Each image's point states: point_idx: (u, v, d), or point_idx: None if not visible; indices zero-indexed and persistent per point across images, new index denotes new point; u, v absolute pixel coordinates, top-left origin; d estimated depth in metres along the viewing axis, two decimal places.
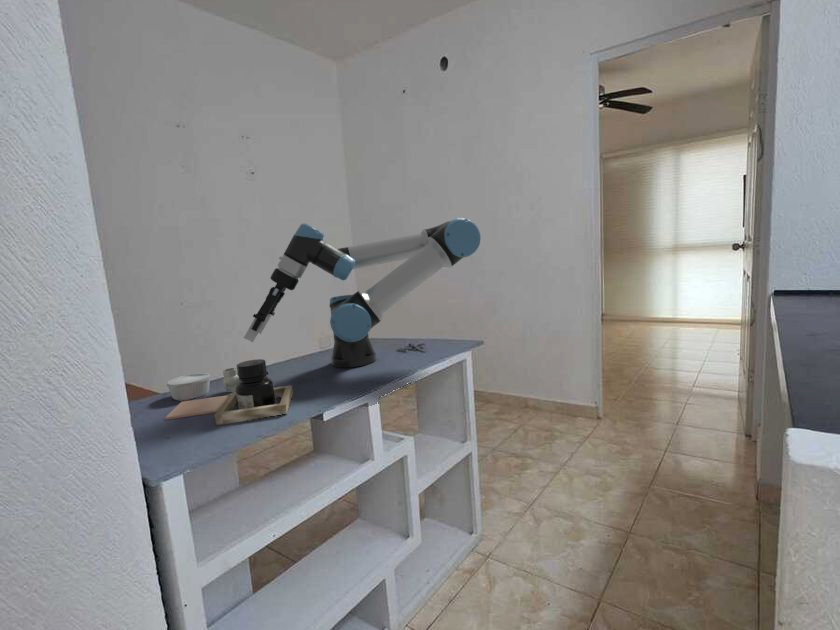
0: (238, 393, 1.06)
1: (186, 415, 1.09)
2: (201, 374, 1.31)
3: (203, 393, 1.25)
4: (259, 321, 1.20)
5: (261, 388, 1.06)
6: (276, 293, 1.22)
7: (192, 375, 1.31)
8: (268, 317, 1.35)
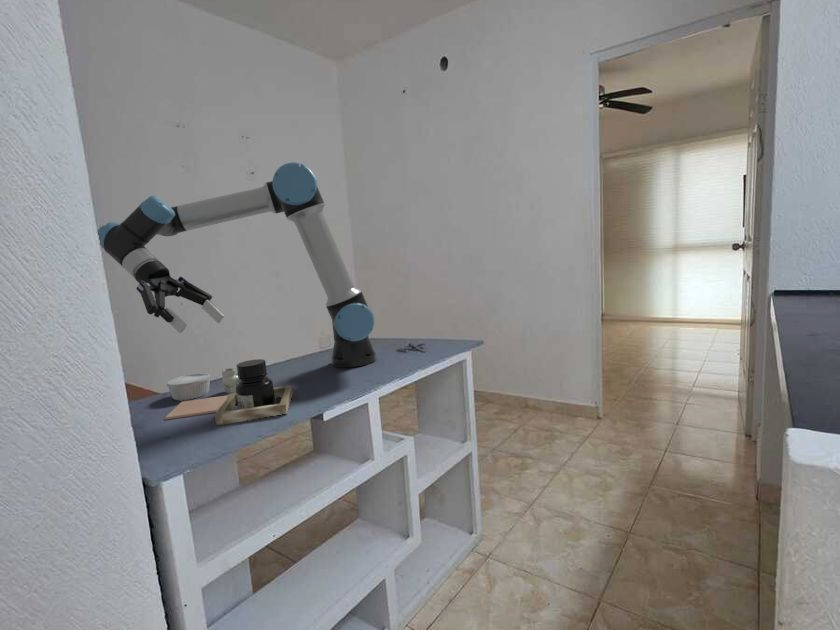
0: (238, 393, 1.06)
1: (186, 415, 1.09)
2: (201, 374, 1.31)
3: (203, 393, 1.25)
4: (160, 311, 1.05)
5: (261, 388, 1.06)
6: (141, 286, 1.07)
7: (192, 375, 1.31)
8: (207, 303, 1.19)
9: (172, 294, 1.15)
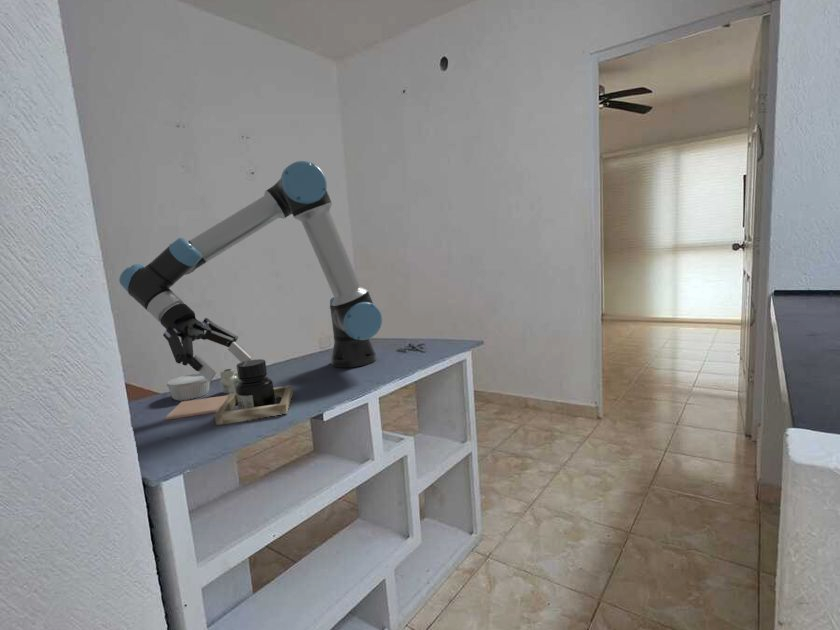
0: (238, 393, 1.06)
1: (186, 415, 1.09)
2: None
3: (203, 393, 1.25)
4: (189, 360, 1.02)
5: (261, 388, 1.06)
6: (168, 333, 1.04)
7: (192, 375, 1.31)
8: (234, 345, 1.16)
9: (198, 338, 1.11)
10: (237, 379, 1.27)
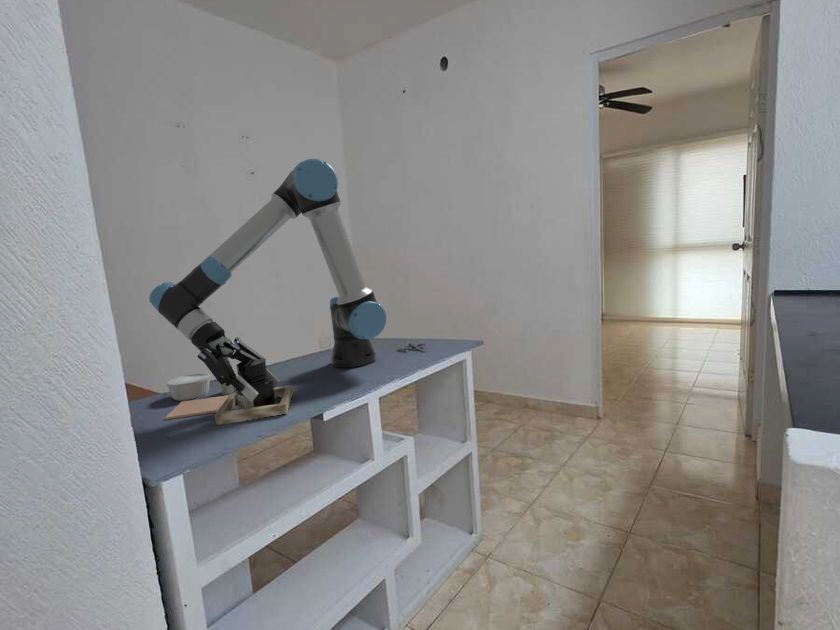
0: (238, 393, 1.06)
1: (186, 415, 1.09)
2: (201, 374, 1.31)
3: (203, 393, 1.25)
4: (232, 381, 1.03)
5: (261, 388, 1.06)
6: (203, 354, 1.03)
7: (192, 375, 1.31)
8: None
9: (229, 356, 1.10)
10: None
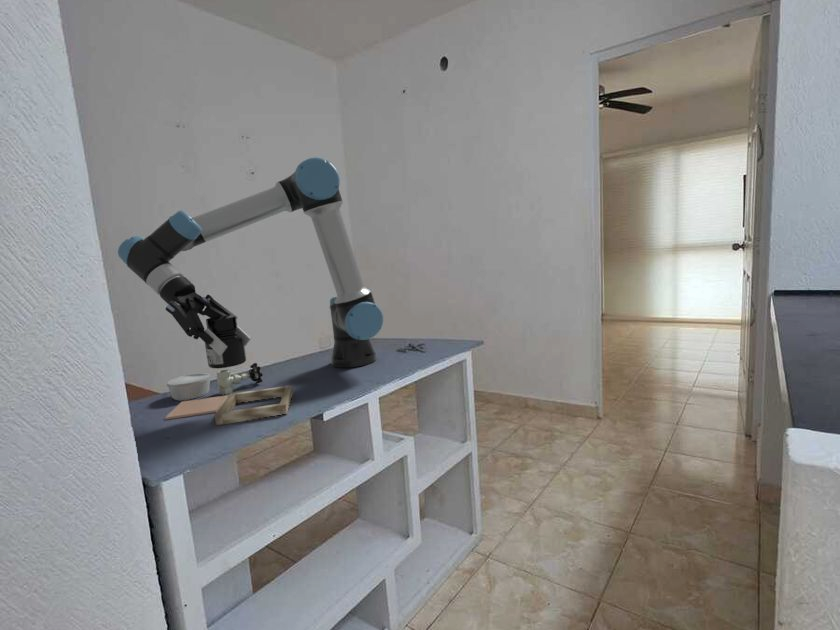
0: (207, 347, 1.05)
1: (186, 415, 1.09)
2: (201, 374, 1.31)
3: (203, 393, 1.25)
4: (200, 333, 1.02)
5: (230, 343, 1.05)
6: (171, 307, 1.02)
7: (192, 375, 1.31)
8: None
9: (199, 311, 1.10)
10: (234, 380, 1.26)
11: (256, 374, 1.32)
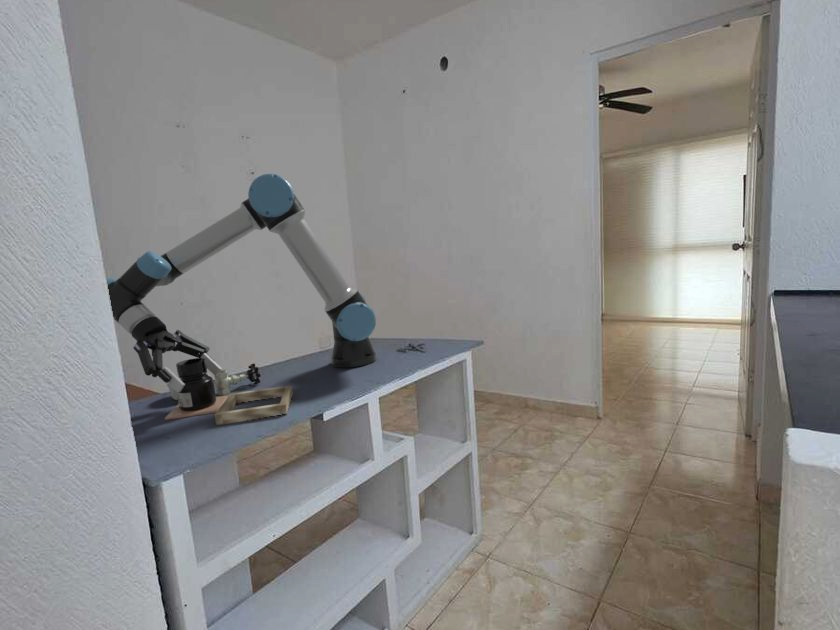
0: None
1: (186, 415, 1.09)
2: None
3: None
4: (158, 372, 1.05)
5: (199, 386, 1.11)
6: (138, 346, 1.07)
7: None
8: (204, 356, 1.19)
9: (169, 350, 1.15)
10: (231, 381, 1.26)
11: (254, 375, 1.31)
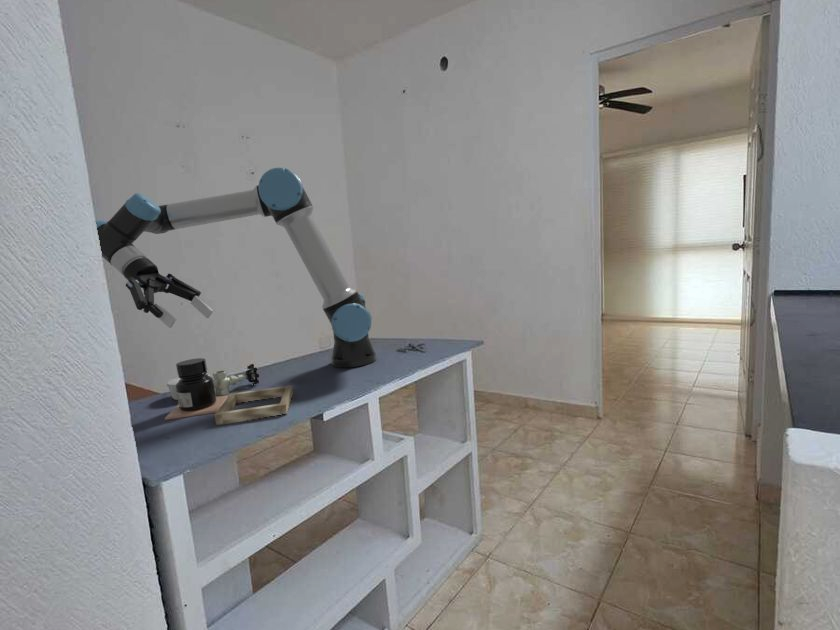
0: (177, 391, 1.11)
1: (186, 415, 1.09)
2: None
3: None
4: (150, 307, 1.08)
5: (199, 386, 1.11)
6: (130, 282, 1.10)
7: None
8: (196, 299, 1.22)
9: (161, 290, 1.17)
10: (230, 381, 1.26)
11: (253, 375, 1.31)
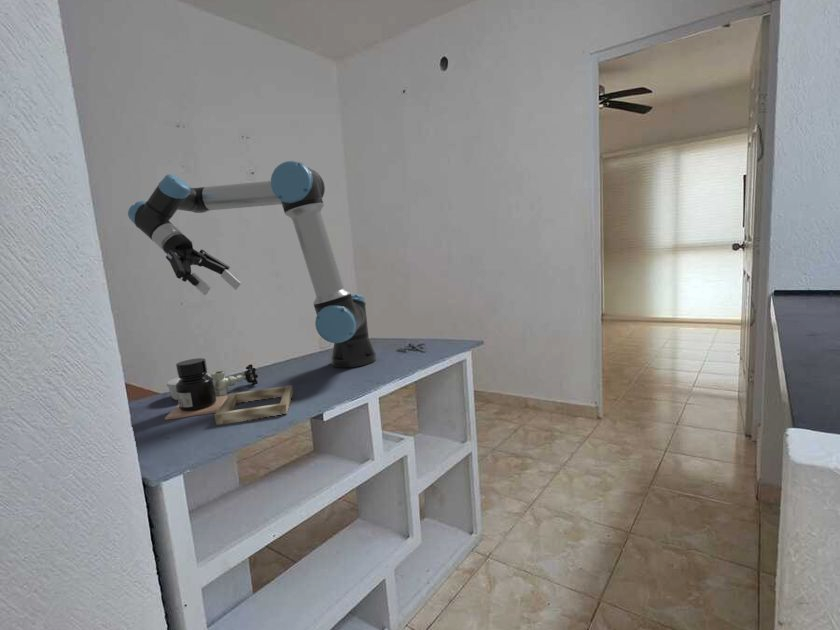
0: (177, 391, 1.11)
1: (186, 415, 1.09)
2: None
3: None
4: (187, 276, 1.22)
5: (199, 386, 1.11)
6: (170, 255, 1.24)
7: None
8: (225, 272, 1.36)
9: (195, 263, 1.31)
10: (228, 382, 1.25)
11: (251, 375, 1.30)
